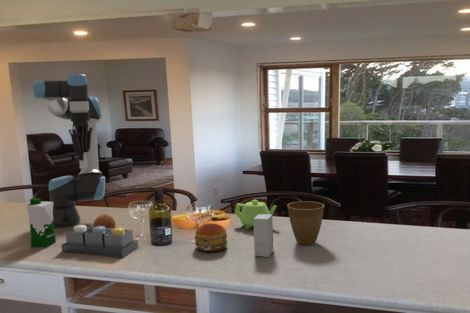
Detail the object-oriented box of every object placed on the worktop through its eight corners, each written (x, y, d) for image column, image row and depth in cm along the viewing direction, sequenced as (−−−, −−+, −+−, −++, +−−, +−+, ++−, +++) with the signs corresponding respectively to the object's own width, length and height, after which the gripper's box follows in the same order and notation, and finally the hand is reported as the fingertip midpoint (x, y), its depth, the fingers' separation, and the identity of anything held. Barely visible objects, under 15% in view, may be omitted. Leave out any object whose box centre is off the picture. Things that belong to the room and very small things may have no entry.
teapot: (279, 223, 211) (278, 197, 209) (274, 231, 198) (274, 204, 196) (238, 221, 215) (237, 196, 214) (231, 229, 203) (230, 202, 201)
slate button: (98, 237, 182) (97, 225, 182) (108, 238, 181) (107, 226, 180) (90, 241, 178) (89, 229, 177) (101, 242, 176) (100, 230, 176)
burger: (189, 252, 174) (188, 227, 173) (203, 241, 187) (202, 218, 186) (220, 255, 170) (219, 230, 168) (232, 244, 182) (232, 221, 181)
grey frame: (80, 242, 190) (79, 224, 189) (138, 247, 181) (137, 228, 180) (61, 251, 178) (60, 232, 177) (122, 257, 170) (121, 237, 169)
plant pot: (331, 241, 182) (331, 204, 180) (311, 251, 171) (311, 211, 169) (301, 234, 192) (300, 199, 190) (280, 243, 182) (280, 205, 179)
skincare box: (269, 257, 166) (268, 219, 164) (253, 256, 168) (252, 218, 166) (273, 250, 174) (273, 213, 172) (259, 249, 176) (258, 212, 174)
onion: (89, 236, 198) (87, 214, 197) (109, 230, 205) (107, 209, 204) (100, 240, 192) (99, 218, 190) (120, 234, 199) (119, 213, 198)
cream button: (79, 235, 185) (78, 224, 184) (89, 236, 184) (88, 225, 183) (71, 239, 180) (70, 227, 180) (82, 240, 179) (81, 228, 178)
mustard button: (117, 238, 180) (116, 227, 179) (127, 239, 178) (127, 227, 178) (110, 242, 175) (109, 230, 174) (121, 243, 174) (120, 231, 173)
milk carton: (40, 240, 193) (36, 196, 191) (59, 241, 191) (55, 196, 189) (27, 247, 185) (23, 201, 182) (46, 248, 183) (42, 201, 180)
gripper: (81, 111, 190) (85, 165, 194) (61, 112, 178) (66, 170, 181) (96, 111, 188) (100, 165, 191) (77, 112, 176) (81, 170, 179)
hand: (83, 167), depth 186 cm, fingers closed
